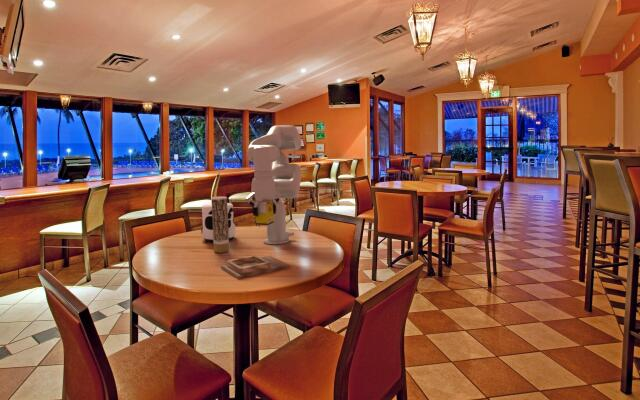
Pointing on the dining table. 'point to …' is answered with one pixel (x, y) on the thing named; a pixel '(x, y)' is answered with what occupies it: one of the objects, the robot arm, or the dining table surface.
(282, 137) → the robot arm
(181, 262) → the dining table surface
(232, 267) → the board
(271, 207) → the supplement box
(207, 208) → the milk container
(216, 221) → the wooden log
